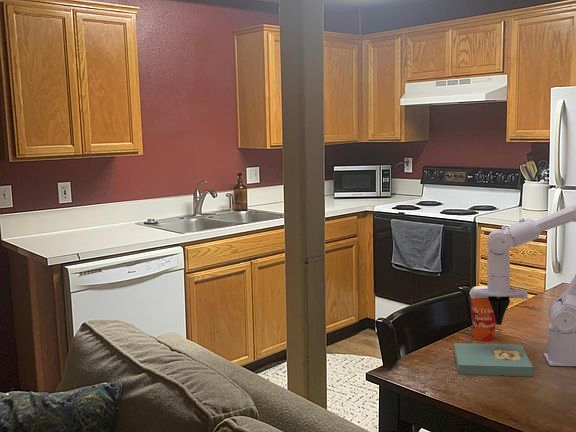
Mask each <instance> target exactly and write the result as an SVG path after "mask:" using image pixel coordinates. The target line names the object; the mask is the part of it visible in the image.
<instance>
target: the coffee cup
mask: <svg viewBox="0 0 576 432" xmlns="http://www.w3.org/2000/svg"><path fill="white" fill-rule="evenodd" d="M476 289H488V285H478V286H477V285H476V286H473V287H472V288H471V290H476ZM469 295H470V292H469ZM470 307H471V309H470V311H471V321H472V333H473V335H472V336H473V339H474V340H475V341H480V342H492V341H494V340H495V337H496V323H495V316H494V312H493V309H492V307H491V304H490V302H489V300H488V298H471V297H470ZM491 340H492V341H491Z"/></svg>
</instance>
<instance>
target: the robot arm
mask: <svg viewBox="0 0 576 432" xmlns="http://www.w3.org/2000/svg"><path fill="white" fill-rule="evenodd" d="M518 221H519V222H516V223H514V224H513V223H512V224H511V225H508V226H506V225H503V226H501V229H494V230H492V231H491V232H490V233H489V234H488V236H487V238H486V242H487V248H488V251H487V260H486V261H487V286H488V289H476V290H472V289H469V290H470V291H469V293H470V294H469V296H470V299H471V298H488V300H489V302H490V304H491V307H492V309H493V312H494V316H495V323H496V325H497V326H501V325H502V324H503V320H504V316H505V313H506V311H507V309H508V307H509V305H510V303H511V300H510V299H526V300H527V299H528V298H529V297H528V295H529V294H528V291H527V290H526V289H517V288H516V289H514V288H511V257H510V249H511V248H516V247H519V246H522V245H524V244H527V243H530V242H532V241H534V240H537V239H539V238H540V235H541V233H542V232H545V231H548V230H551V229H553V228H558V227H560V226H563V225H565V224H569V223H572V222H573V223H576V203H575V204H572V205H569V206H567V207H564V208H563V209H560V210H558V211H555V212H553V213H551V214H548V215H545V216H543V217H541V218H539V219H537V220H535V219H532V218H526V219H525V218H524V217H522V218H519V219H518ZM548 313H549V316H550V317H551V322H550V323H549V324H548V326H547V327H548V329H547V330H548V332H547V352H544V353H543V357H544V358H545V360H546V361H547V363H548V364H549V366H551V367H552V366H554V367H576V274H575V275H574V277H573V278H572V280H571V281H570V283H569V285H568V287H567V288H566V290H564V291H563V292H562V293H561V294H560V295H559V298H558V299H556V300H554V301H553V302H552V303H551V304H550V305H549V308H548Z"/></svg>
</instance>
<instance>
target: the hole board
mask: <svg viewBox="0 0 576 432" xmlns="http://www.w3.org/2000/svg"><path fill="white" fill-rule="evenodd" d="M453 352H454V356H455V357H454V358H455V362H456V367H457V373H458V375H471V376H472V375H473V376H474V375H475V376H500V375H504V376H507V377H508V376H510V377H512V376H513V377H534V366H533V365H532V364H533V363H532V362H531V361H530V358H529V357H528V355H527V352H526V351H525V349H524V347H523V345H522V344H515V343H514V344H510V343H509V344H507V343H506V344H504V343H503V344H501V343H464V342H461V343H459V342H453ZM502 353H508V354H510V355H511V358H506V357H502V356H500V355H501V354H502ZM504 376H503V377H504Z"/></svg>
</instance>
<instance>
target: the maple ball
mask: <svg viewBox="0 0 576 432" xmlns="http://www.w3.org/2000/svg"><path fill="white" fill-rule="evenodd" d="M500 356H502V357H506V358H511V355H510V354H508V353H502V354H501V355H500Z"/></svg>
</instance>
